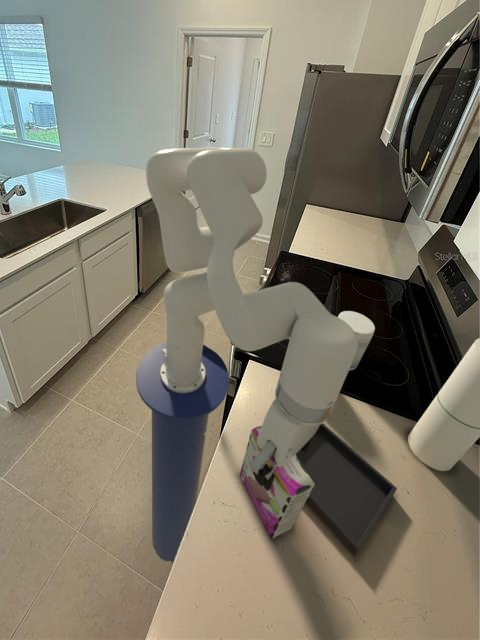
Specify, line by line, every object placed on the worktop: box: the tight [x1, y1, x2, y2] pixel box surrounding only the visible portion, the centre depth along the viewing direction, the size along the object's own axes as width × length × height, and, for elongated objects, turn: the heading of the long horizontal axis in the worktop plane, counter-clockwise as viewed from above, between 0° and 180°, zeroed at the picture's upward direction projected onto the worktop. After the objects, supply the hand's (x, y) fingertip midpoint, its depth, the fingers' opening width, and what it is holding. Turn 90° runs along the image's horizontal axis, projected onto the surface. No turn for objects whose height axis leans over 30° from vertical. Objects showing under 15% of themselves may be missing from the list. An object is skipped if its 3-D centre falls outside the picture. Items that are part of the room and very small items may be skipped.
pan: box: [295, 423, 398, 557], centre depth 62 cm, size 17×15×3 cm
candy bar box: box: [239, 425, 315, 540], centre depth 54 cm, size 11×5×16 cm, turn 23°
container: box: [407, 337, 480, 472], centre depth 62 cm, size 9×9×30 cm
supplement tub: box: [337, 310, 376, 372], centre depth 87 cm, size 10×10×15 cm
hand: (280, 461), depth 51 cm, fingers open, 9 cm apart
